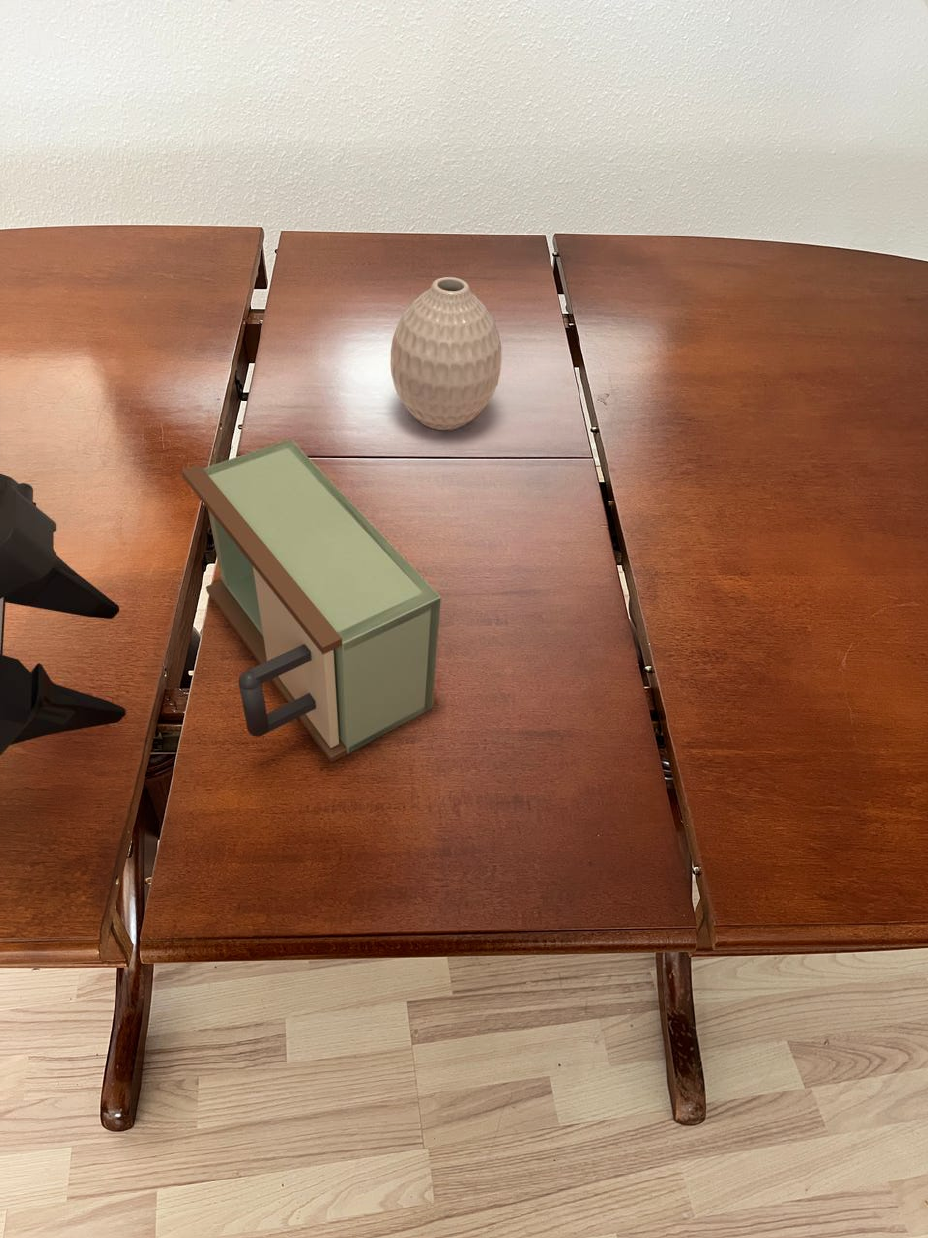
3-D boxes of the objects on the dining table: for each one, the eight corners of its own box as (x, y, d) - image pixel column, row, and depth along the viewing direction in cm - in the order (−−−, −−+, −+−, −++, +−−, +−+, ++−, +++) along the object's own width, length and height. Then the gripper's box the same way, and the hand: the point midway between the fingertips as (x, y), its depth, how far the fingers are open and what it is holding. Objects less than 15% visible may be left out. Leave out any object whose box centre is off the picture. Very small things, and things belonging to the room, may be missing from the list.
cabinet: (330, 763, 70) (322, 647, 59) (206, 592, 82) (180, 469, 71) (432, 708, 75) (441, 591, 64) (301, 553, 87) (290, 432, 76)
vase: (486, 454, 100) (501, 321, 88) (378, 437, 101) (378, 303, 88) (501, 395, 109) (516, 266, 96) (402, 379, 109) (405, 250, 97)
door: (268, 781, 67) (251, 684, 58) (207, 688, 73) (182, 586, 64) (339, 744, 70) (333, 645, 61) (274, 657, 76) (260, 555, 67)
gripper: (-98, 608, 38) (204, 700, 49) (-62, 380, 50) (175, 494, 60) (-201, 748, 42) (99, 805, 53) (-144, 507, 54) (91, 593, 65)
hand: (119, 661), depth 58 cm, fingers open, 9 cm apart
